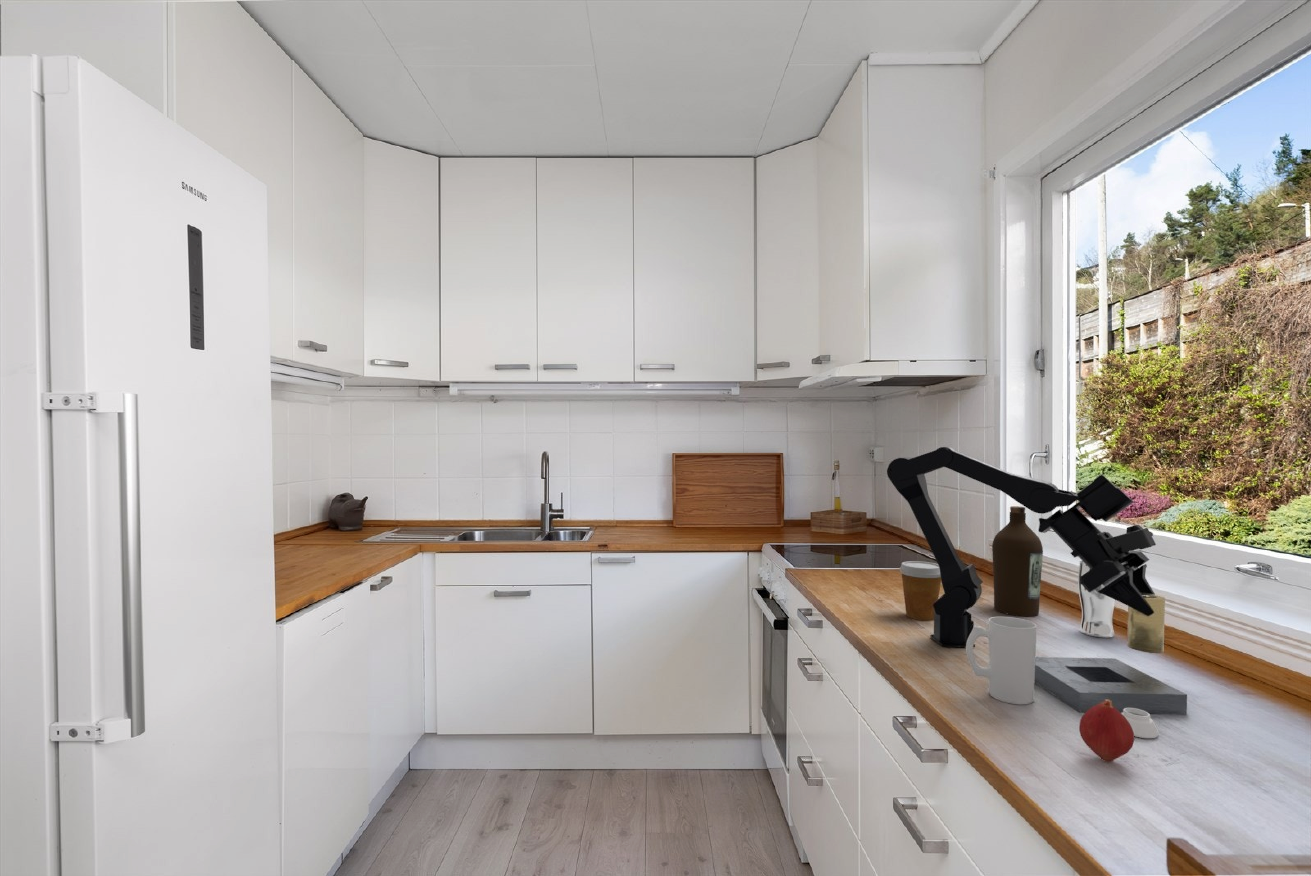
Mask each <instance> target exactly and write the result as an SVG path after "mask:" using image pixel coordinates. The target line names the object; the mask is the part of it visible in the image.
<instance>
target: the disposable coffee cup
mask: <svg viewBox="0 0 1311 876" xmlns="http://www.w3.org/2000/svg"><path fill="white" fill-rule="evenodd" d="M899 571H900V573H901V579H902V588H903V597H904V605H905V607H904V608H905V614H906V615H905V616H906V617H908V618H910V619H914V620H919V621H934V607H933V604H934V603H935V602H936V601H937V600H938V599H939V598H940V597H939V596H940V589H941V584H942V582H941V575H940V569H939V565H938V563H934V562H928V561H921V560H920V561H919V560H918V561H916V560H913V561H911V560H910V561H909V560H908V561H903V562H901V566H900V567H899Z"/></svg>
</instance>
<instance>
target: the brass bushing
mask: <svg viewBox="0 0 1311 876" xmlns="http://www.w3.org/2000/svg"><path fill="white" fill-rule="evenodd" d="M1141 594H1142V596H1143V597H1144V598H1145V600H1146V601H1147V602H1148V604H1149V605H1150V606H1151V608H1152V609H1153V611H1154V613H1153V614H1152V615H1150V616H1147V615H1145V614H1143V613H1141V612H1139V611H1137V610H1135V609H1133V608H1131V607H1129V606H1127V607H1128V608H1127V635H1126V636H1127V637H1126V638H1127V639H1126V641H1127V643H1126V645H1127V647H1128V648H1129V649H1131V650H1134V651H1138V652H1143V653H1149V654H1163V653H1164V648H1165V645H1164V644H1165V643H1164V642H1165V615H1166V614H1165V613H1166V612H1165V611H1166V598H1165V597H1164V596H1161V595H1158V594H1155V595H1154V594H1148V593H1141Z"/></svg>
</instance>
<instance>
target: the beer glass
mask: <svg viewBox="0 0 1311 876" xmlns="http://www.w3.org/2000/svg"><path fill="white" fill-rule="evenodd" d="M1089 570H1091V569H1090V568H1089V567H1088V566H1087V565H1086V564H1085V563H1084V562H1083V561H1082V560H1080V561H1079V565H1078V577H1077V578H1078V579H1077V584H1078V585H1077V587H1078V595H1079V601H1080V606H1081V622H1080V626H1079V632H1080V633H1081V632H1082V633H1081V634H1083V635H1087V636H1090V637H1095V638H1103V639H1110V638H1114V637H1115V631H1114V627H1113V614H1114V609H1115V606H1116V605H1115V604H1116V600H1115V599H1113V598H1110V597H1108V596H1106V595H1104V594H1100V593H1099V592H1098V591H1099V590H1101V589H1102V588H1104V586H1103V585H1100V586H1099V587H1097V589H1096V590H1094V591H1092V592H1090V593H1089V592H1088V591H1087V590H1086V589H1085V588H1084V587H1083V585H1082V584H1081V576H1082V575H1084V574H1085V573H1087V572H1088V571H1089Z"/></svg>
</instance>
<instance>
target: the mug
mask: <svg viewBox="0 0 1311 876" xmlns="http://www.w3.org/2000/svg"><path fill="white" fill-rule="evenodd" d="M1037 625H1038V624H1036V623H1035V622H1033V621H1031V620H1028V619H1023V618H1018V617H1013V616H993V617H989V618H988V628H983V627H982V626H979V625H975V624H974V626H973V630H972V632H971V633H970V635H969V637H968V640H967V643H966V647H965V652H966V656H967V661H968V662H969V664H970V665H969V666H970V667H971V670H972V672H973V674H974V676H976V677H983V678H986V679H988V692H989V695H990V696H991V697H992V698H994V699H996V700H998V701H1000V702H1004V703H1007V704H1012V705H1020V706H1021V705H1030V704H1032V703H1033V702H1034V697H1035V695H1034V694H1035V693H1034V691H1035V682H1034V680H1035V657H1036V652H1037V651H1036V650H1037V649H1036V648H1037ZM980 637H985V638H987V639H988V666H980V665H979V663H978V662H977V660H976V659H975V654H974V647H973V645H974V644H975V642H976V641H977V640H978V639H979V638H980Z"/></svg>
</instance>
